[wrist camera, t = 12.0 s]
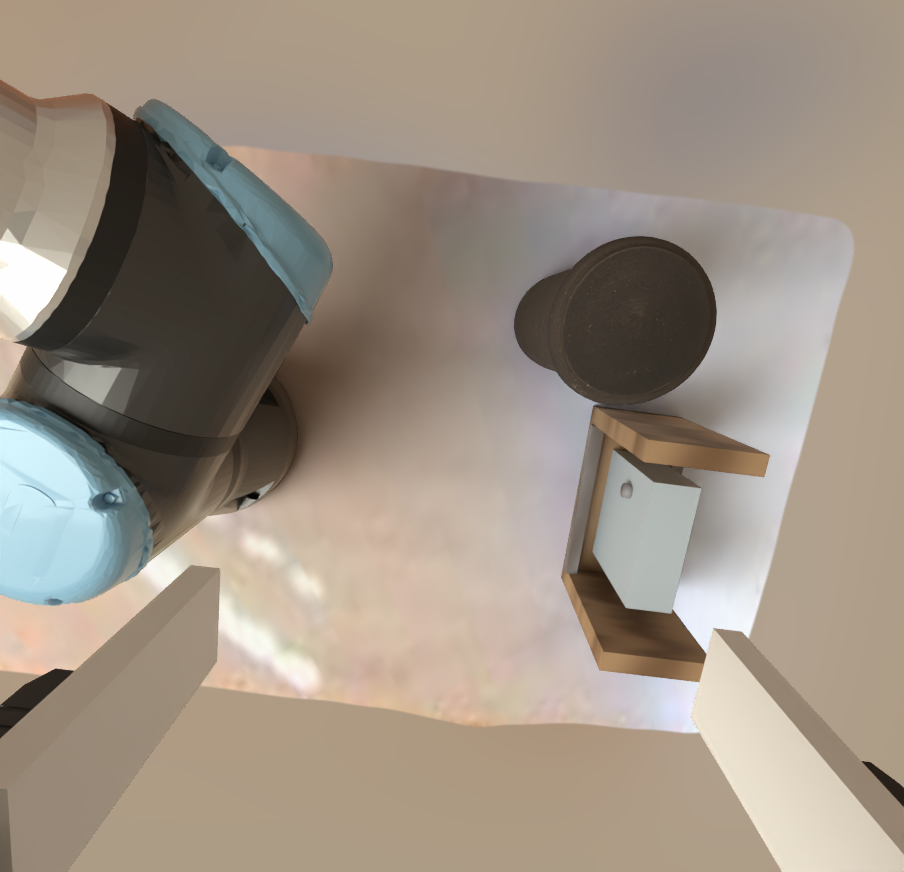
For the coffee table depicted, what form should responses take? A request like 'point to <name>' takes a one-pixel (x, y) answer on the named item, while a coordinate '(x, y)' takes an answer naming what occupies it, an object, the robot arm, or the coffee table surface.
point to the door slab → (645, 530)
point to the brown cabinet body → (593, 597)
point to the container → (621, 321)
